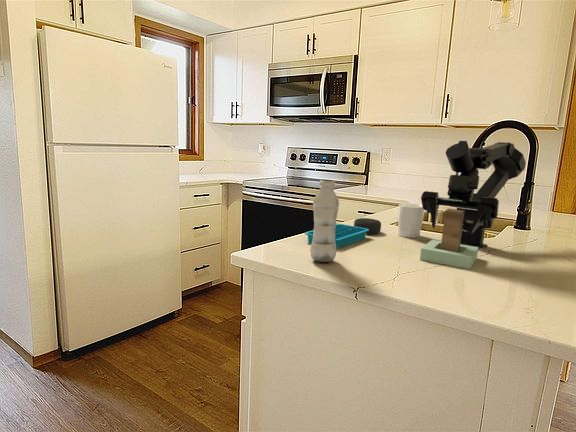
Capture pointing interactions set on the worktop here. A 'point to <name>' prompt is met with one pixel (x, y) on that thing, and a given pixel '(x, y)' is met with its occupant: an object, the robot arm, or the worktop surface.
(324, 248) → the plastic bottle
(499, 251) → the worktop surface
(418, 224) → the white cup
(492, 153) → the robot arm
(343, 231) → the ice cube tray
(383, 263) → the worktop surface
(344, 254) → the worktop surface
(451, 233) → the brown square peg
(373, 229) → the smart speaker
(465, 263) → the green square hole base
